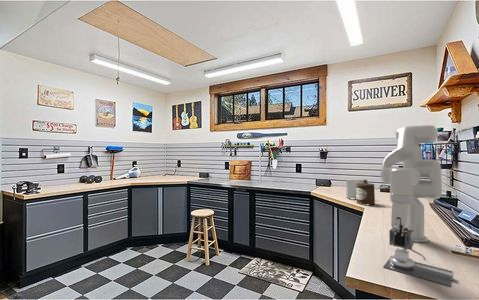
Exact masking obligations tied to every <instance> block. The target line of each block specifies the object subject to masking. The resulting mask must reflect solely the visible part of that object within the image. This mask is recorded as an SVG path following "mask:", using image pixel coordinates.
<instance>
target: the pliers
mask: <svg viewBox="0 0 479 300" xmlns="http://www.w3.org/2000/svg"><path fill="white" fill-rule="evenodd" d="M401 249H402V250H406V251H407V249H405V248H401ZM408 251H411V252H413V253H414V254H417V255H419V256H421V258H422V259H423V261H426V257H425V256H424V255H423V254H422V253H420V252H418V251H416V250H414V249H413V247H412V248H411V250H410V249H408Z"/></svg>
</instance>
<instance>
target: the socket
mask: <svg viewBox="0 0 479 300" xmlns="http://www.w3.org/2000/svg"><path fill="white" fill-rule="evenodd" d="M400 230H401V229H400ZM401 232H402V230H401ZM388 235H389V246H393V247H396V248H397V247H398V248H400V249H403V248H405V249H406V250H407V249H408V250H409V249H410V250H409V251H411V248H412V249H413V247H414V244H415V243H414V242H415V241H414V233H413V230H408V229H404V235H403V236H404V241H405V245H404V246H399V245H395V226H394V227H391V229H389V234H388Z"/></svg>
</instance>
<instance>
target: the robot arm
mask: <svg viewBox="0 0 479 300" xmlns="http://www.w3.org/2000/svg"><path fill="white" fill-rule="evenodd" d="M395 137H396V140H397V141H396V148H395V149H394V150H393V151H392V152H390V153H389V154H387V156H385V157H384V159H383V161H382V164H381V170H380V179H381V181H382V182H383V183H385V184H389V194H390V196H389V197H390V203H392V204H391V218H390V226H391V228H393V227H395V245H399V246H404V245H405V241H404V236H403V235H404V229H408V230H413V233H414V242H416V243H426V242H428V241H429V237H427V236H426V235H425V233H426V232H425V206H424V204H423V202H422V201H421V200H420V199H429V200H438V199H440V198H441V197H442V194H443V191H442V189H443V188H442V185H443V184H442V166H441V163H440V162H439V161H438V160H437V159H424V158H423V149H422V147H420V146H419V144H433V143H435V142H436V141H437V139H438V129H437V127H435V126H434V125H429V124H428V125H425V124H423V125H412V126H411V125H410V126H404V127H401V128H398V129H397V130H396V131H395ZM400 163H402V165H403V166H402V167H401V166H394V165H396V164H400ZM421 178H427V180H426V179H421ZM400 229H401V230H402V232H401V230H400Z"/></svg>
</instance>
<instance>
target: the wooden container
mask: <svg viewBox="0 0 479 300" xmlns="http://www.w3.org/2000/svg"><path fill="white" fill-rule="evenodd" d="M356 187H357V193H356V198H357V199H356V204H358V203H361V204H376V201H375V197H376V196H375V195H376V194H375V184H374V183H371V182H370V183H369V182H368V179H364V180H363V183H357V184H356ZM361 204H360V205H361Z"/></svg>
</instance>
